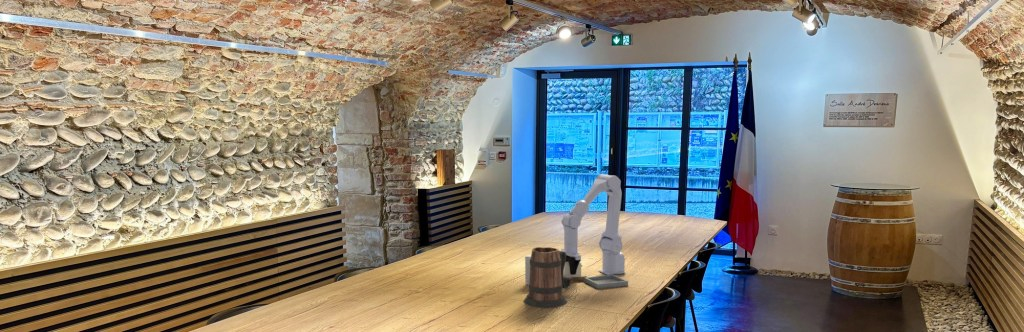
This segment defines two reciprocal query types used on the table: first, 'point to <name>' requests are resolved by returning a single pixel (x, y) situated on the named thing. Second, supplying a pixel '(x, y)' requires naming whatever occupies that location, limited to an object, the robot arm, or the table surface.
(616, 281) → the grey tray
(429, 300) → the table surface
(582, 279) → the walnut dock
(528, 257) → the skincare box
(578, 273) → the beige rectangular block
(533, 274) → the tankard
